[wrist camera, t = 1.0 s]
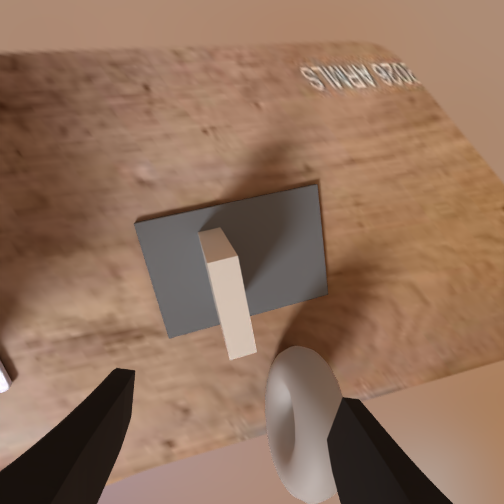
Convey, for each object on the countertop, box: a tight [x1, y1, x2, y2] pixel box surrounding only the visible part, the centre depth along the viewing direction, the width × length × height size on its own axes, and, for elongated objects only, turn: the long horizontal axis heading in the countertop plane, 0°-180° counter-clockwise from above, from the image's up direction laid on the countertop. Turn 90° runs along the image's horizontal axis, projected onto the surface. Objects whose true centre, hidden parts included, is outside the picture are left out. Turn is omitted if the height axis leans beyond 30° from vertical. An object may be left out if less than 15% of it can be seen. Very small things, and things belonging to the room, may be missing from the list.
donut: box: [265, 346, 343, 504], centre depth 23 cm, size 10×4×10 cm, turn 171°
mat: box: [134, 184, 328, 338], centre depth 24 cm, size 13×9×1 cm
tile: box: [198, 227, 257, 360], centre depth 20 cm, size 2×6×6 cm, turn 8°
